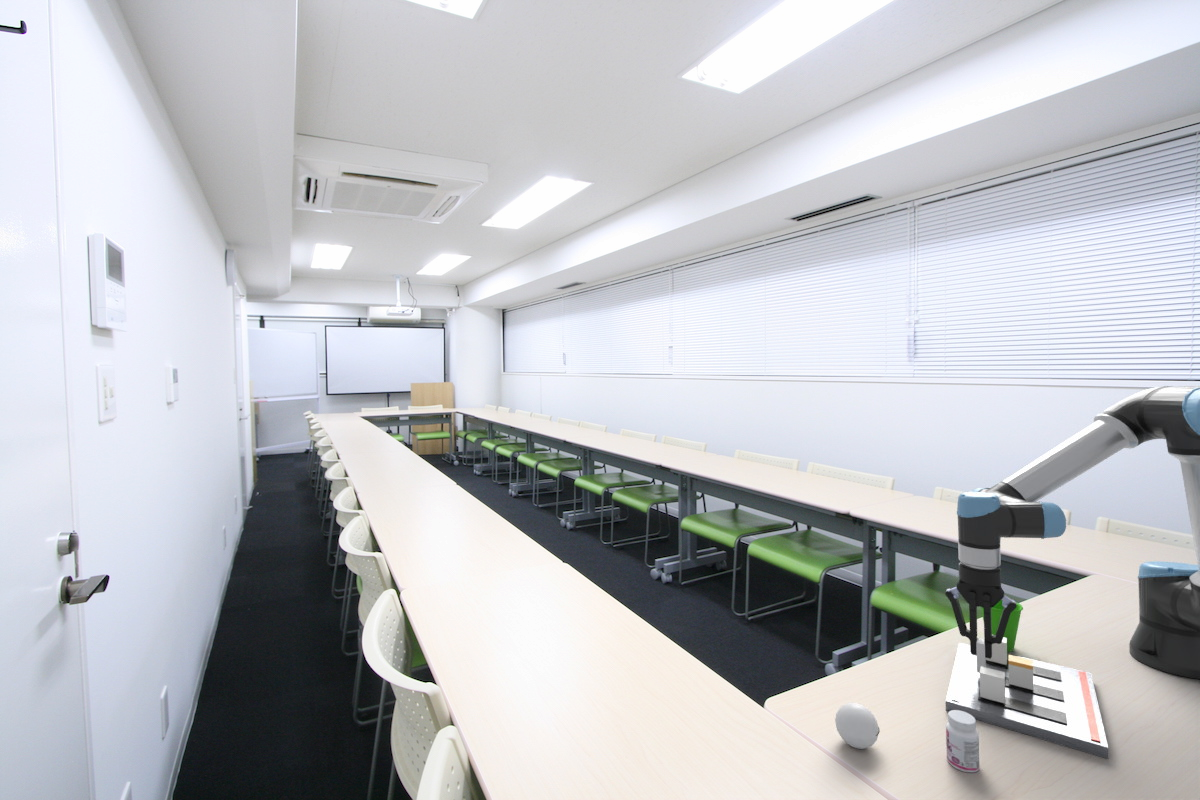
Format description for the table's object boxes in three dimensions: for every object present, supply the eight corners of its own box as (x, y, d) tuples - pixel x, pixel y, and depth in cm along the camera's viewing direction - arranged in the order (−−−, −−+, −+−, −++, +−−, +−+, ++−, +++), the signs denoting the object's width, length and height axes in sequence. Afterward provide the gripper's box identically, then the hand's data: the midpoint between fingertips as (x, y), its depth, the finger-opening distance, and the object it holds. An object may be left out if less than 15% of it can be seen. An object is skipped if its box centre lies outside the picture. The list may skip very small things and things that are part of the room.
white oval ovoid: (878, 763, 93) (877, 722, 93) (832, 749, 97) (831, 710, 97) (882, 731, 102) (881, 694, 102) (840, 719, 106) (839, 683, 106)
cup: (1032, 657, 127) (1031, 611, 127) (989, 654, 129) (988, 609, 129) (1011, 639, 136) (1010, 597, 136) (971, 637, 138) (970, 595, 138)
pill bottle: (940, 755, 95) (939, 709, 95) (964, 753, 95) (964, 707, 95) (960, 774, 90) (959, 726, 90) (986, 772, 91) (985, 723, 90)
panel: (1090, 681, 116) (1090, 671, 116) (1108, 758, 93) (1108, 746, 93) (959, 650, 131) (959, 641, 131) (945, 710, 108) (945, 699, 108)
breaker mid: (1033, 683, 112) (1032, 660, 112) (1033, 690, 110) (1032, 666, 109) (1009, 677, 114) (1008, 654, 114) (1008, 683, 112) (1008, 660, 112)
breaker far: (1007, 659, 122) (1006, 637, 122) (1006, 664, 119) (1006, 643, 119) (985, 654, 124) (985, 633, 124) (984, 659, 122) (984, 638, 122)
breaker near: (1005, 696, 108) (1004, 672, 108) (1004, 703, 105) (1004, 678, 105) (981, 689, 110) (980, 666, 110) (980, 696, 108) (979, 672, 108)
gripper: (1017, 564, 115) (1019, 672, 115) (945, 554, 123) (948, 654, 123) (1017, 574, 109) (1019, 687, 109) (941, 563, 117) (944, 668, 117)
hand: (981, 670), depth 116 cm, fingers closed
